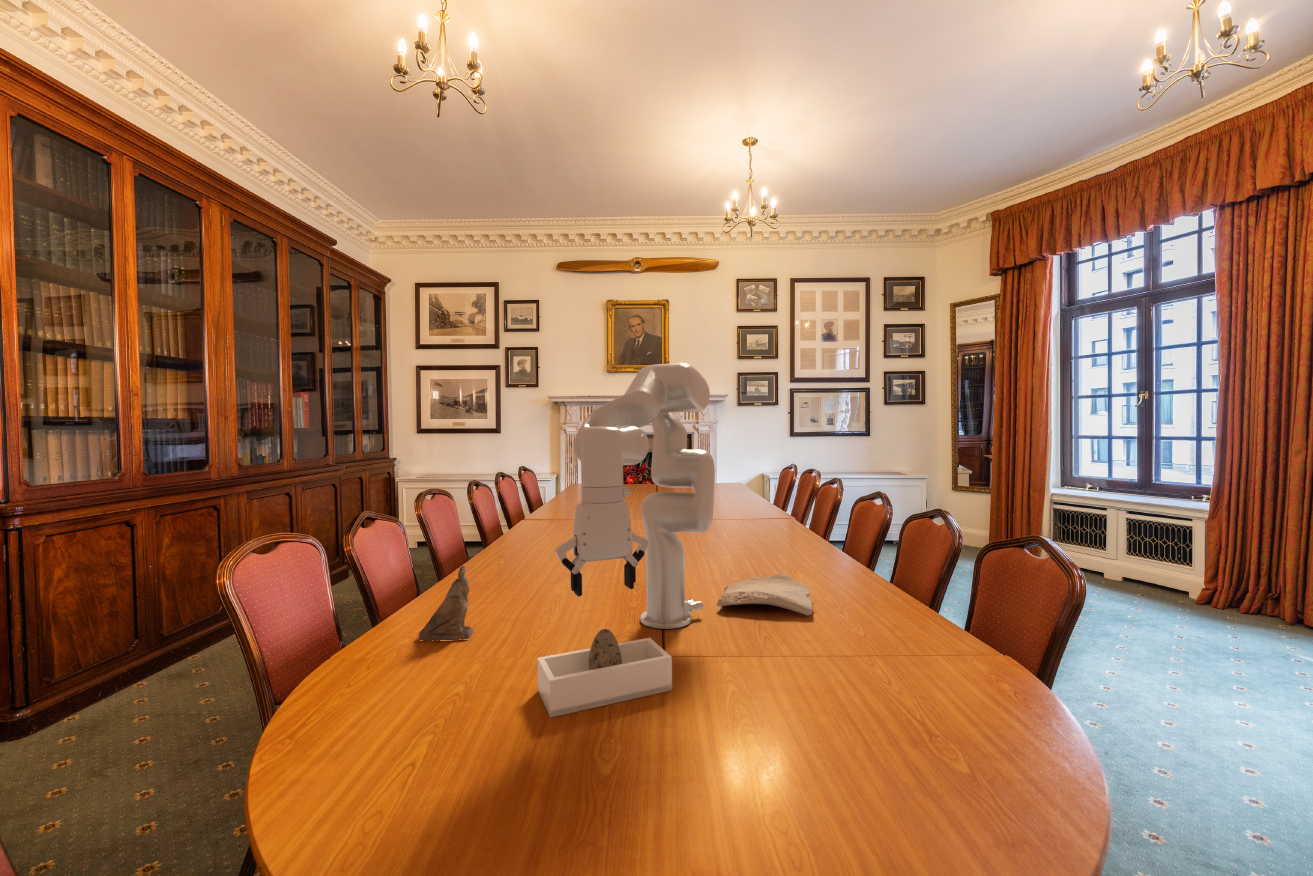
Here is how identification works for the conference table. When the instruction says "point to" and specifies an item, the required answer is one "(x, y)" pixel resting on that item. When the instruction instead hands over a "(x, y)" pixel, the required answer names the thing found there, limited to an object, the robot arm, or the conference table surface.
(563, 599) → the conference table surface
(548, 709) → the open rectangular box
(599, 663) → the decorative egg
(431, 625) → the brown carved statuette
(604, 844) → the conference table surface
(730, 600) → the beige curved fragment
